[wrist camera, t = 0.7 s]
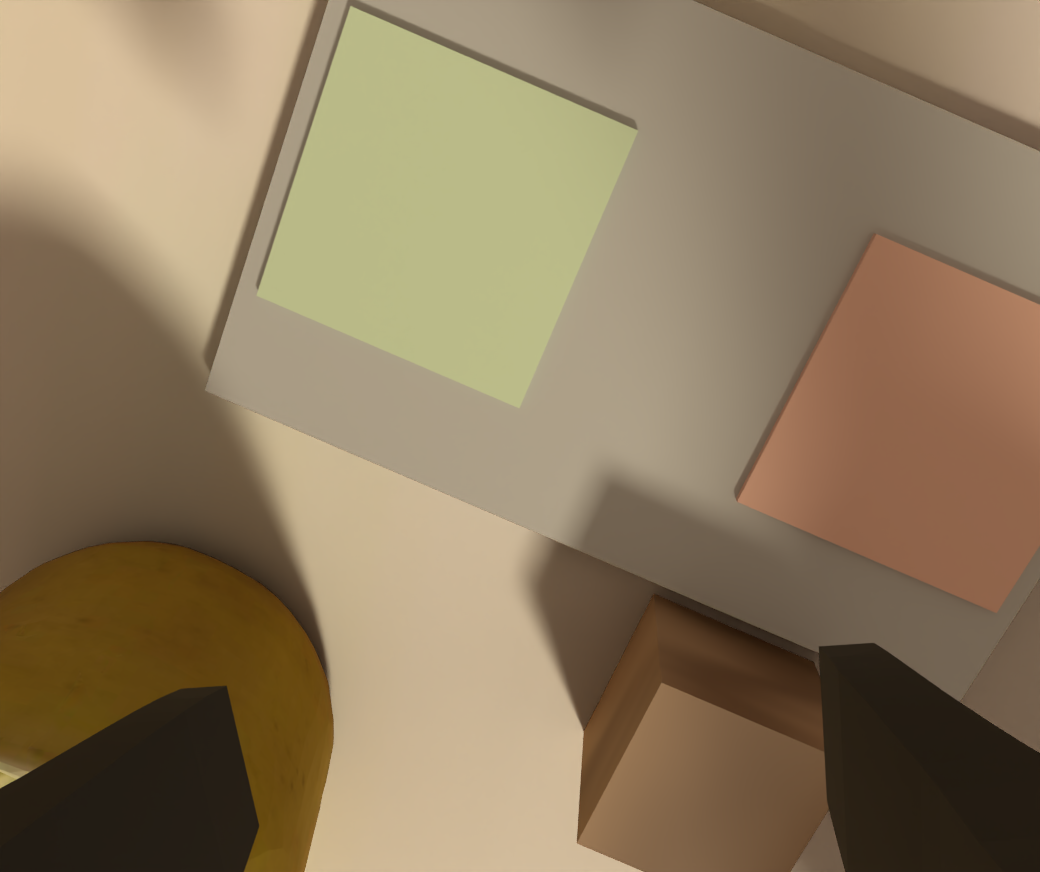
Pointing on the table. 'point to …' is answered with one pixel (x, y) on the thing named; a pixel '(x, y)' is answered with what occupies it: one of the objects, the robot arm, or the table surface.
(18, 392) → the table surface
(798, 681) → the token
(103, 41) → the table surface
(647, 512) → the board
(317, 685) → the mug
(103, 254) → the table surface
